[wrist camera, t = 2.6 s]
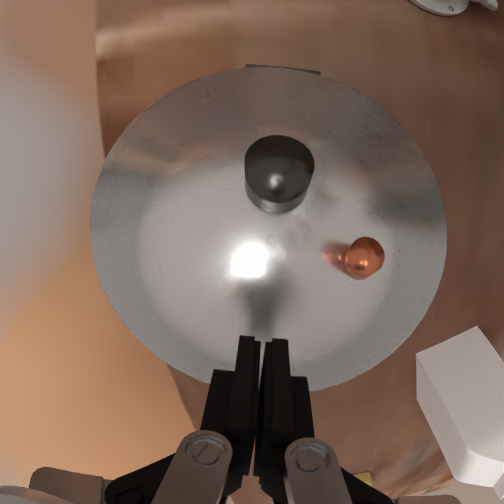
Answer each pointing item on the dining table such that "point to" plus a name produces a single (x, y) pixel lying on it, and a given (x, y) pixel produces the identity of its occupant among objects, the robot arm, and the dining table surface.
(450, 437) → the milk
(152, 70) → the dining table surface
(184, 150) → the lid
